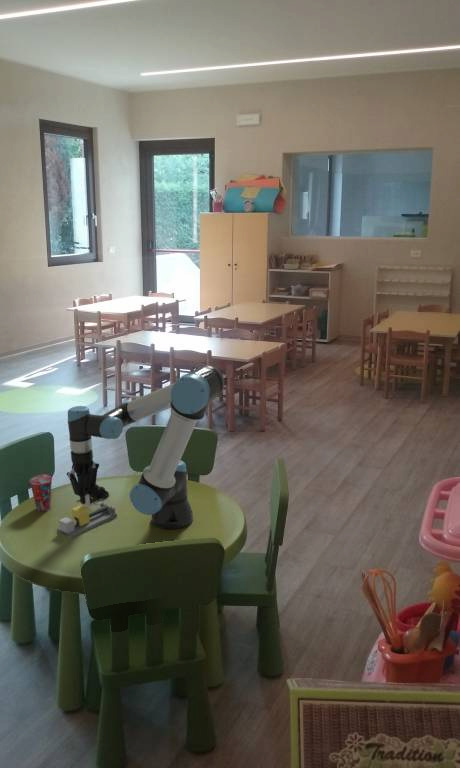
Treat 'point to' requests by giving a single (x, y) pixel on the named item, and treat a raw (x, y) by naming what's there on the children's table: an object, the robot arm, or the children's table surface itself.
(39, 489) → the cup
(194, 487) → the children's table surface
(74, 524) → the comb rail
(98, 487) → the stuffed animal
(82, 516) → the sleeve
